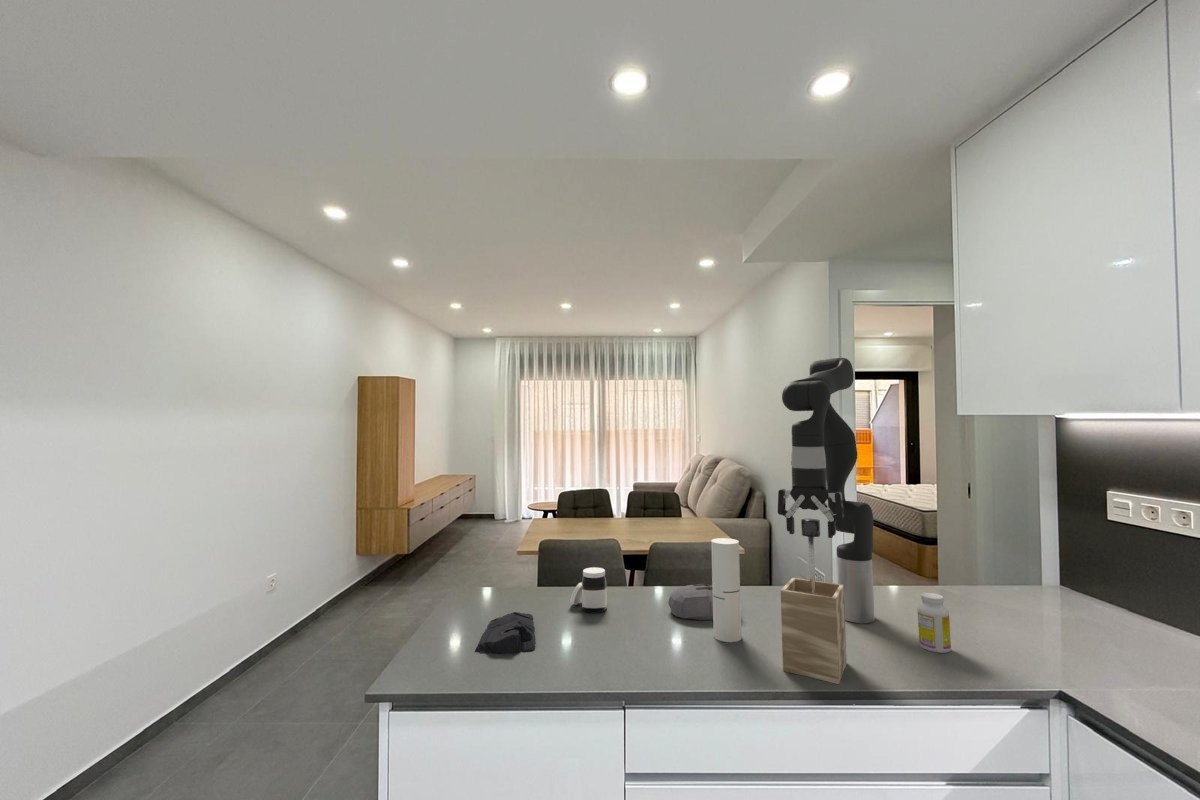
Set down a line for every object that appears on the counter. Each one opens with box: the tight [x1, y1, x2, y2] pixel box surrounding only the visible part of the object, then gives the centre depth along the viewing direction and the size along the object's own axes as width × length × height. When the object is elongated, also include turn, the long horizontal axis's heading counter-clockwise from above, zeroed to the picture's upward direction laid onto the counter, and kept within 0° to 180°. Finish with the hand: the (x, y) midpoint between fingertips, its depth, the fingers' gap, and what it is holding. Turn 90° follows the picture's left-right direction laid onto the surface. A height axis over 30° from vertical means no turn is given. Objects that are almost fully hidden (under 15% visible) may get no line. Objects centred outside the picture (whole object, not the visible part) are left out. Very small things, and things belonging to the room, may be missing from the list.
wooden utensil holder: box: [780, 577, 848, 685], centre depth 119 cm, size 12×12×18 cm
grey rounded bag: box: [667, 583, 713, 621], centre depth 154 cm, size 15×8×20 cm
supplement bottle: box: [916, 592, 952, 654], centre depth 128 cm, size 7×7×13 cm
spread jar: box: [570, 566, 608, 613], centre depth 160 cm, size 12×11×12 cm
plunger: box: [800, 518, 821, 595], centre depth 120 cm, size 9×9×22 cm
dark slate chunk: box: [475, 611, 537, 655], centre depth 138 cm, size 15×22×5 cm
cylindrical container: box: [710, 537, 742, 643], centre depth 137 cm, size 7×7×25 cm
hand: (810, 535), depth 120 cm, fingers open, 8 cm apart
